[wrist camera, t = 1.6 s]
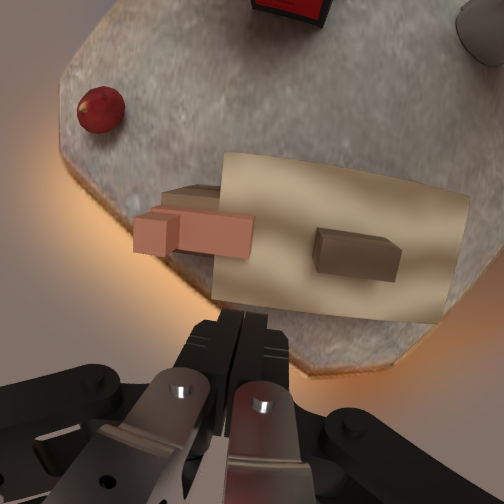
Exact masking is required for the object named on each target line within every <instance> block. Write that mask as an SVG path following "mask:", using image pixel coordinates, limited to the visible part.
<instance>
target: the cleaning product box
mask: <svg viewBox="0 0 504 504" xmlns="http://www.w3.org/2000/svg"><path fill="white" fill-rule="evenodd" d="M332 1H333V0H251V4H252V9H256V10H261V11H265V12H269V13H273V14H277V15H281V16H285V17H289V18H292V19H296V20H299V21H303V22H306V23H309V24H312V25H315V26H319V27H322V28H323V26H324V23H325V21H326V18H327V15H328V12H329V9H330V7H331V4H332Z"/></svg>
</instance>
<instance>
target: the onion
mask: <svg viewBox="0 0 504 504" xmlns="http://www.w3.org/2000/svg"><path fill="white" fill-rule="evenodd" d="M124 110H125V104H124V101H123V97H122V96H121V95H120V94H119V92H118V91H116V90H115V89H113V88H110V87H106V86H102V87H98V88H94V89H91V90H90V91H88V92H87V93H86V94H85V96H84V97H83V98H82V99H81V100H80V102H79V104H78V108H77V117H78V120H79V123H80V125H81V126H82V127H83V128H84V129H85V130H86V131H88V132H91V133H95V134H101V133H106V132H109V131H111V130H112V129H114V128H115V127H116V126H117V125H118V124H119V122H120V121H121V120H122V117H123V115H124Z"/></svg>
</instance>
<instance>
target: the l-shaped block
mask: <svg viewBox="0 0 504 504" xmlns="http://www.w3.org/2000/svg"><path fill="white" fill-rule="evenodd" d="M254 222H255V216H253V215H245V214H237V213H229V212H221V211H213V210H204V209H195V208H186V207H177V206H167V205H158V206H155V207H152V208H151V211H150V212H147V213H145V214H142V215H140V216H137V217H134V236H133V252H136V253H142V254H148V255H155V256H161V257H166V256H167V255H169V254H170V253H171V252H172V251H173V250H175V249H180V250H187V251H194V252H201V253H208V254H215V255H222V256H230V257H237V258H244V259H249V256H250V253H251V247H252V239H253V230H254Z"/></svg>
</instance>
